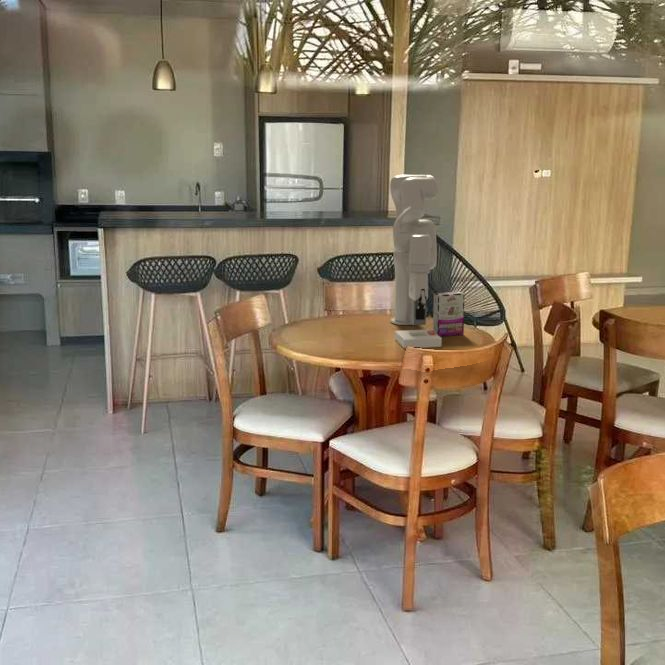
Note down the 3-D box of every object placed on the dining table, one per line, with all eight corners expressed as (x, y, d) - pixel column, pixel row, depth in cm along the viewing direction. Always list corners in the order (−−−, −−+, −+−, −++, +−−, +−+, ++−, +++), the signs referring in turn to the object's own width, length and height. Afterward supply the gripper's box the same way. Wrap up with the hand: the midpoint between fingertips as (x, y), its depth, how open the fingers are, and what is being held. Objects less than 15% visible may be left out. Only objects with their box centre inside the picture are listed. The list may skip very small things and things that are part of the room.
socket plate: (395, 339, 290) (395, 328, 289) (430, 337, 292) (431, 327, 291) (403, 348, 277) (404, 337, 276) (441, 346, 279) (441, 336, 278)
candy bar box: (458, 331, 301) (459, 290, 297) (463, 334, 297) (465, 293, 293) (432, 333, 298) (433, 292, 294) (437, 336, 294) (438, 294, 290)
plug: (411, 323, 284) (411, 293, 282) (422, 322, 285) (423, 293, 282) (413, 325, 280) (414, 295, 278) (425, 324, 281) (426, 295, 278)
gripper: (403, 266, 285) (403, 314, 289) (415, 272, 269) (414, 323, 273) (423, 265, 287) (422, 313, 290) (436, 271, 270) (434, 322, 274)
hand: (418, 317), depth 282 cm, fingers closed on plug, 4 cm apart
